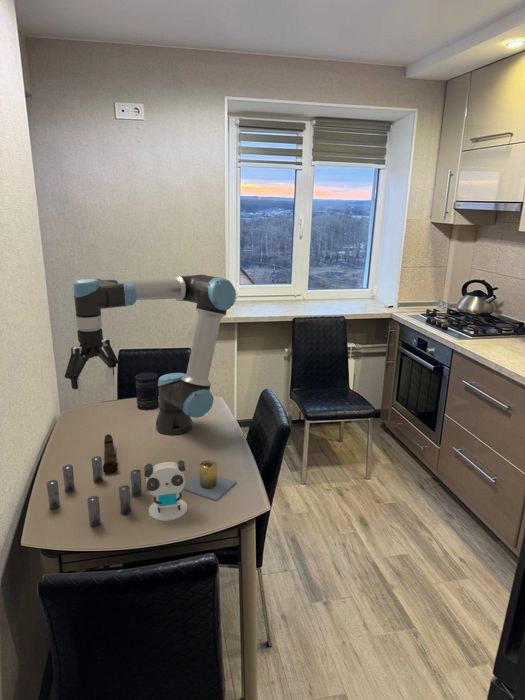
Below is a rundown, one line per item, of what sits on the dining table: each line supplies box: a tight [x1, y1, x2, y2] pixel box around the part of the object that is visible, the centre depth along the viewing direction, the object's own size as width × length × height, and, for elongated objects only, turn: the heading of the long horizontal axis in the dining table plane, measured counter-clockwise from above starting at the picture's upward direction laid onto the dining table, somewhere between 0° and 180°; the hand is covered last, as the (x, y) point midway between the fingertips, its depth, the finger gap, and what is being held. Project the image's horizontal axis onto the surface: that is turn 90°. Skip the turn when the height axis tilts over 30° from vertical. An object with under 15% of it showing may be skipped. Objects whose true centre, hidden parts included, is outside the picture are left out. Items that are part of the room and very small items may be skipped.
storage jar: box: [135, 372, 159, 411], centre depth 218 cm, size 10×10×15 cm
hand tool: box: [102, 433, 119, 475], centre depth 171 cm, size 23×5×6 cm, turn 16°
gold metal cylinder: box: [199, 460, 218, 489], centre depth 154 cm, size 6×6×7 cm
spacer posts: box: [46, 455, 143, 528], centre depth 145 cm, size 20×27×8 cm
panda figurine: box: [143, 459, 188, 522], centre depth 141 cm, size 12×11×15 cm
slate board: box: [182, 471, 237, 502], centre depth 155 cm, size 12×14×1 cm
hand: (94, 391), depth 156 cm, fingers open, 13 cm apart
